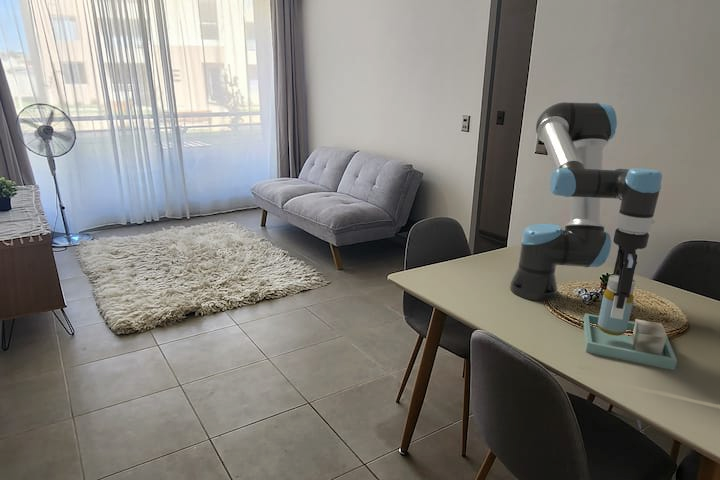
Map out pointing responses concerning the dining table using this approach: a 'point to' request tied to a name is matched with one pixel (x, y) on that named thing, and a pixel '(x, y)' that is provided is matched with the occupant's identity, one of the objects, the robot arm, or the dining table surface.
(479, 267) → the dining table surface
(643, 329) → the beige rectangular box
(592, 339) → the tote
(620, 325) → the bottle
